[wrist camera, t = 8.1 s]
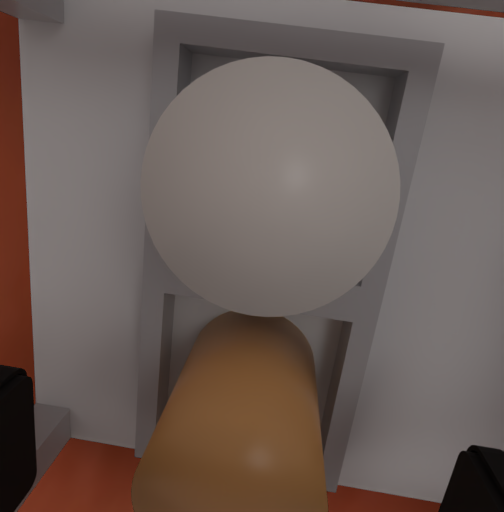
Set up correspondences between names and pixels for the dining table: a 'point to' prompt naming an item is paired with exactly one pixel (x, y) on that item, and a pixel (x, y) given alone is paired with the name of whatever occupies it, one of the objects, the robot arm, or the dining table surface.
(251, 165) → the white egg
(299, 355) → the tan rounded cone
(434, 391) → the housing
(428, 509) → the dining table surface
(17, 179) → the dining table surface
